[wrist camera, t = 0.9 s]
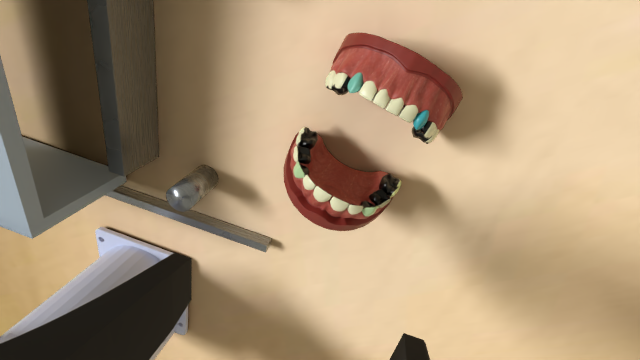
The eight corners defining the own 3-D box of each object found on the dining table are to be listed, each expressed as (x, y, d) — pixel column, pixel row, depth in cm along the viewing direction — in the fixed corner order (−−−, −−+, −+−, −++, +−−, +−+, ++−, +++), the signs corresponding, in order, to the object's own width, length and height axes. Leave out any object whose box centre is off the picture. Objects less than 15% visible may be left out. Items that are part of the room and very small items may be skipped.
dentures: (496, 102, 11) (363, 264, 16) (477, 78, 15) (376, 212, 20) (334, 9, 11) (250, 197, 16) (359, 10, 15) (286, 159, 20)
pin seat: (270, 244, 23) (252, 275, 20) (2, 150, 25) (-45, 167, 22) (344, -146, 12) (326, -186, 10) (-119, -244, 15) (-232, -298, 12)
